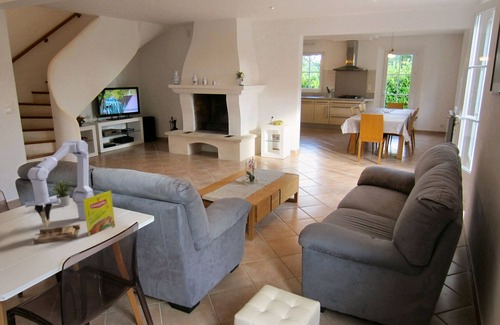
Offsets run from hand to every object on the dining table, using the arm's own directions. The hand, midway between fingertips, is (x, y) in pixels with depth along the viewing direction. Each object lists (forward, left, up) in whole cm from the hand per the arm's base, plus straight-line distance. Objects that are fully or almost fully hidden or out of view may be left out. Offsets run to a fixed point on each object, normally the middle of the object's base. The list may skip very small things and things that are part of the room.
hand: (45, 219), depth 169 cm
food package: (-24, +1, -10) cm, 26 cm away
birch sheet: (0, 0, -3) cm, 3 cm away
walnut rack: (-4, 0, -10) cm, 11 cm away
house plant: (+2, -45, -10) cm, 46 cm away
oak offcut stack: (-9, 0, -9) cm, 13 cm away
